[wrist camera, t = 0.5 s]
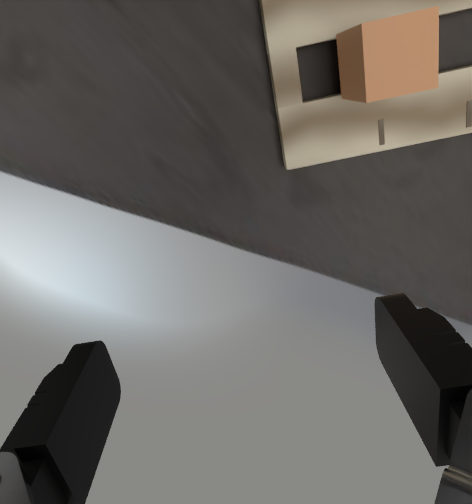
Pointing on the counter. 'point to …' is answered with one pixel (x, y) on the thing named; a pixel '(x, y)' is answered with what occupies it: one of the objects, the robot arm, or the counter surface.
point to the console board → (346, 111)
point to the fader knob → (389, 56)
